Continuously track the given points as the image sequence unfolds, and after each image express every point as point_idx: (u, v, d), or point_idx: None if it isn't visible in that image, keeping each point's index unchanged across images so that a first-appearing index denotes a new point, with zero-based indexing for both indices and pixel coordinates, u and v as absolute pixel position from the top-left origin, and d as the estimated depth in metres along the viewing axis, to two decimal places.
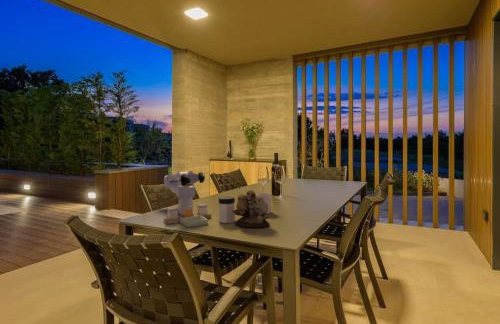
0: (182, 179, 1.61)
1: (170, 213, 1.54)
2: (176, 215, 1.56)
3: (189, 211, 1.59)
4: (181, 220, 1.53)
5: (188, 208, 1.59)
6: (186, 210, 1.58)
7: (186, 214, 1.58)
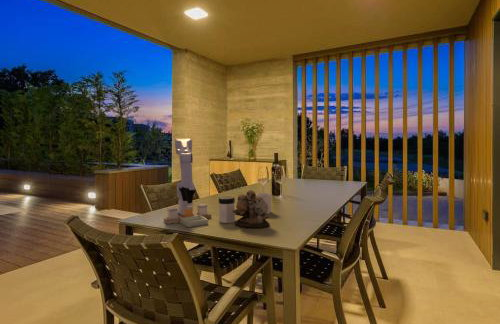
0: None
1: (170, 213, 1.54)
2: (176, 215, 1.56)
3: (189, 211, 1.59)
4: (181, 220, 1.53)
5: (188, 208, 1.59)
6: (186, 210, 1.58)
7: (186, 214, 1.58)
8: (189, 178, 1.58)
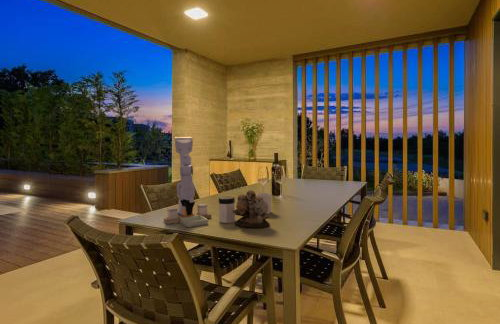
0: None
1: (170, 213, 1.54)
2: (176, 215, 1.56)
3: None
4: (181, 220, 1.53)
5: None
6: None
7: (186, 214, 1.58)
8: (189, 190, 1.58)
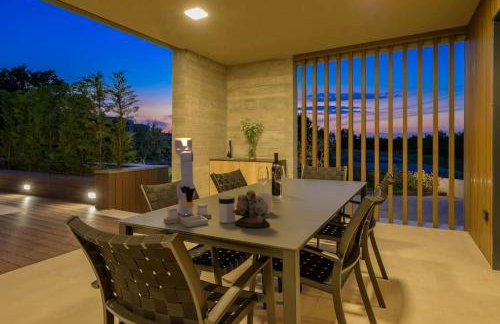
0: None
1: (170, 213, 1.54)
2: (176, 215, 1.56)
3: None
4: (181, 220, 1.53)
5: None
6: None
7: (186, 201, 1.57)
8: (190, 177, 1.57)
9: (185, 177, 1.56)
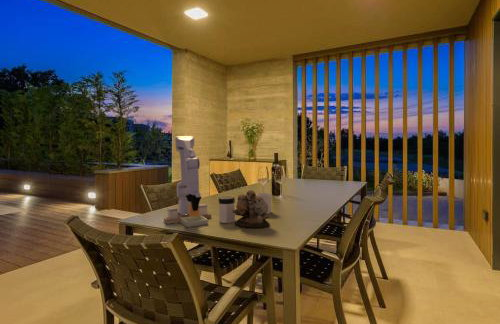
0: None
1: (170, 213, 1.54)
2: (176, 215, 1.56)
3: None
4: (181, 220, 1.53)
5: None
6: None
7: (191, 210, 1.50)
8: (195, 184, 1.50)
9: (191, 185, 1.49)
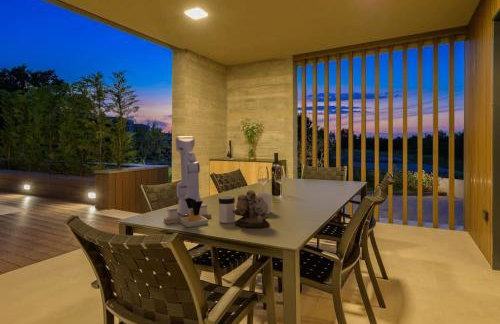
0: None
1: (170, 213, 1.54)
2: (176, 215, 1.56)
3: None
4: (181, 220, 1.53)
5: None
6: (192, 212, 1.50)
7: (191, 217, 1.50)
8: (196, 189, 1.50)
9: (191, 189, 1.49)
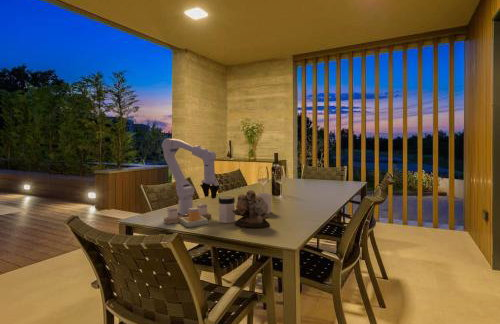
0: None
1: (170, 213, 1.54)
2: (176, 215, 1.56)
3: (195, 213, 1.51)
4: (181, 220, 1.53)
5: (194, 210, 1.51)
6: (192, 212, 1.50)
7: (191, 217, 1.50)
8: (212, 174, 1.67)
9: (208, 175, 1.66)
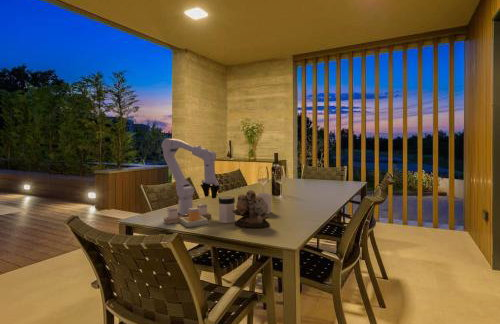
0: None
1: (171, 213, 1.54)
2: (176, 215, 1.56)
3: (195, 213, 1.51)
4: (181, 220, 1.53)
5: (194, 210, 1.51)
6: (192, 212, 1.50)
7: (191, 217, 1.50)
8: (213, 174, 1.67)
9: (209, 175, 1.66)
